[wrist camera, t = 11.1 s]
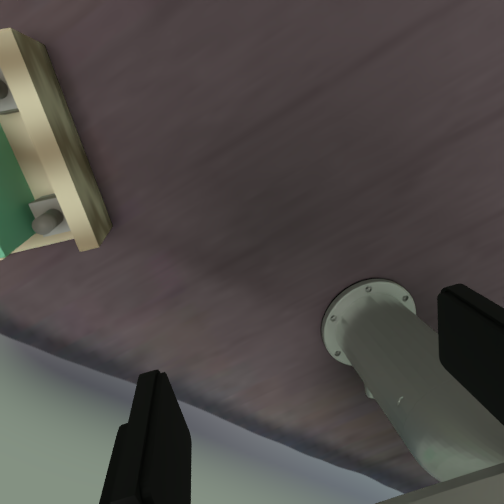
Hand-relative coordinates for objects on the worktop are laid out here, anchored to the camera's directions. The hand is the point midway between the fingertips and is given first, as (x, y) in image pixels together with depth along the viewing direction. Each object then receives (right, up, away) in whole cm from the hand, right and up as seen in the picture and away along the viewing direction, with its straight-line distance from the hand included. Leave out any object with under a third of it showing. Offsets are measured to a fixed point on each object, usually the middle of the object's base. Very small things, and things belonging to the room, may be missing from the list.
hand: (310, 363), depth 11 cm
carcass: (-24, +12, +19) cm, 33 cm away
